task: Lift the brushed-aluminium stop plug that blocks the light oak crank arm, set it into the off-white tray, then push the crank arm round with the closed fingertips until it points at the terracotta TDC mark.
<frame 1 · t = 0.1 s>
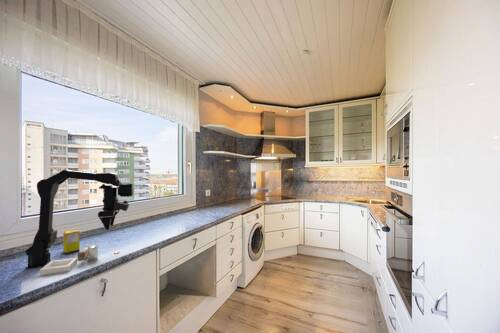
hand: (109, 227, 109), 14 cm above the worktop, fingers open, 9 cm apart
supplement box: (71, 251, 116), on the worktop
tray: (59, 269, 94), on the worktop
crank base: (88, 256, 109), on the worktop
stop plug: (92, 260, 104), on the worktop
crank arm: (85, 252, 104), point 3 cm above the worktop, hinge at -90.0°
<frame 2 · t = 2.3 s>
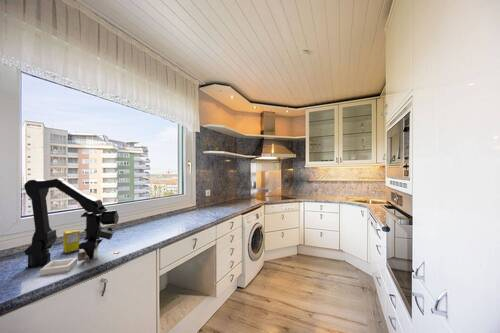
hand: (92, 257, 104), 1 cm above the worktop, fingers closed on stop plug, 4 cm apart
stop plug: (92, 260, 104), on the worktop, touching gripper
everything else where it was.
when the fingers open (3 cm above the worktop, at t = 6.5 s): stop plug drops 1 cm, resting on tray.
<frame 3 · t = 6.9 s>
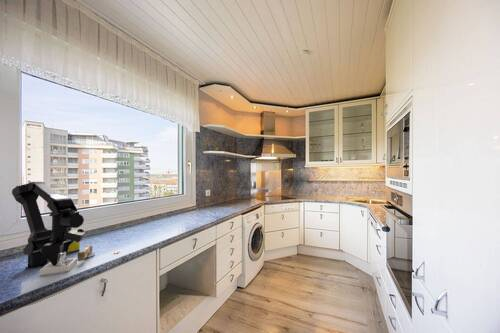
hand: (59, 261, 94), 3 cm above the worktop, fingers open, 9 cm apart
stop plug: (59, 267, 94), resting on tray
everything else where it was.
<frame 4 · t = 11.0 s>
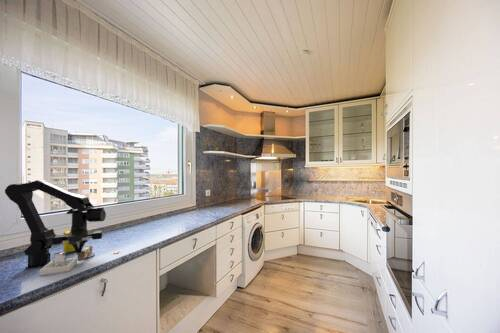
hand: (78, 255, 102), 3 cm above the worktop, fingers closed
crank arm: (85, 252, 104), point 3 cm above the worktop, hinge at -89.9°, touching gripper
everything else where it was.
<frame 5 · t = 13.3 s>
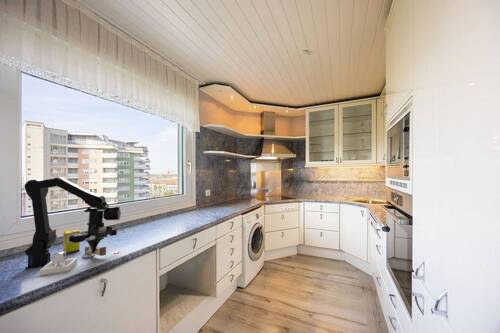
hand: (93, 252, 105), 3 cm above the worktop, fingers closed
crank arm: (95, 250, 107), point 3 cm above the worktop, hinge at -42.5°, touching gripper
everything else where it was.
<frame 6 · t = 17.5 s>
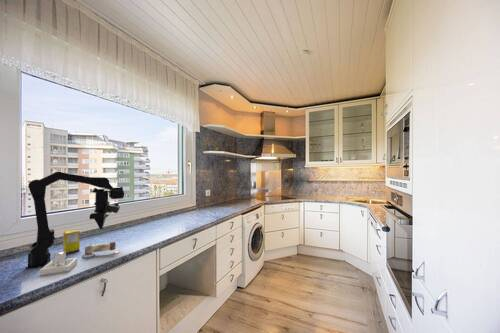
hand: (101, 228, 116), 12 cm above the worktop, fingers closed
crank arm: (100, 248, 111), point 3 cm above the worktop, hinge at -0.5°
everything else where it was.
at the end: stop plug 0.0 cm off-centre on the tray, point 0.5 cm above the tray's base; stop plug tilted 0°; crank arm at +0° (first picture: -90°) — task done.
